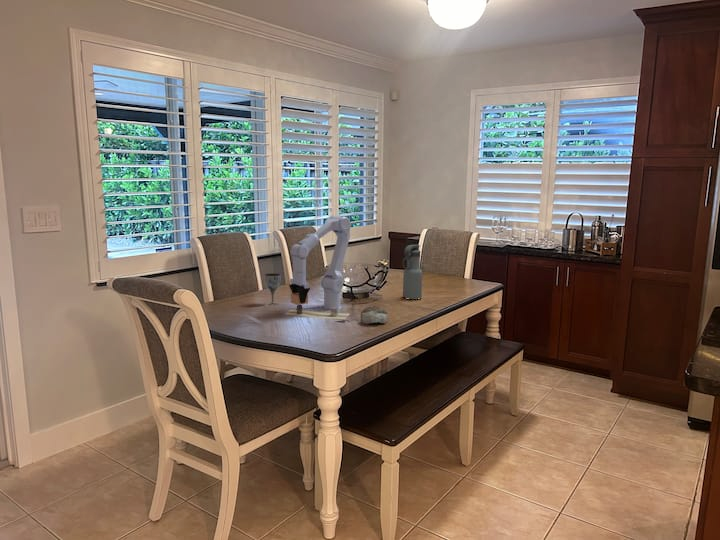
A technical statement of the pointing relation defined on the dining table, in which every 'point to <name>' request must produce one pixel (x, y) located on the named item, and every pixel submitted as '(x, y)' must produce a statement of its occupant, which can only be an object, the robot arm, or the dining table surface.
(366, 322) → the grey rounded lump
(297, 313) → the board
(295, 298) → the collar
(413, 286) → the water bottle
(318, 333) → the dining table surface
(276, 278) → the wine glass
